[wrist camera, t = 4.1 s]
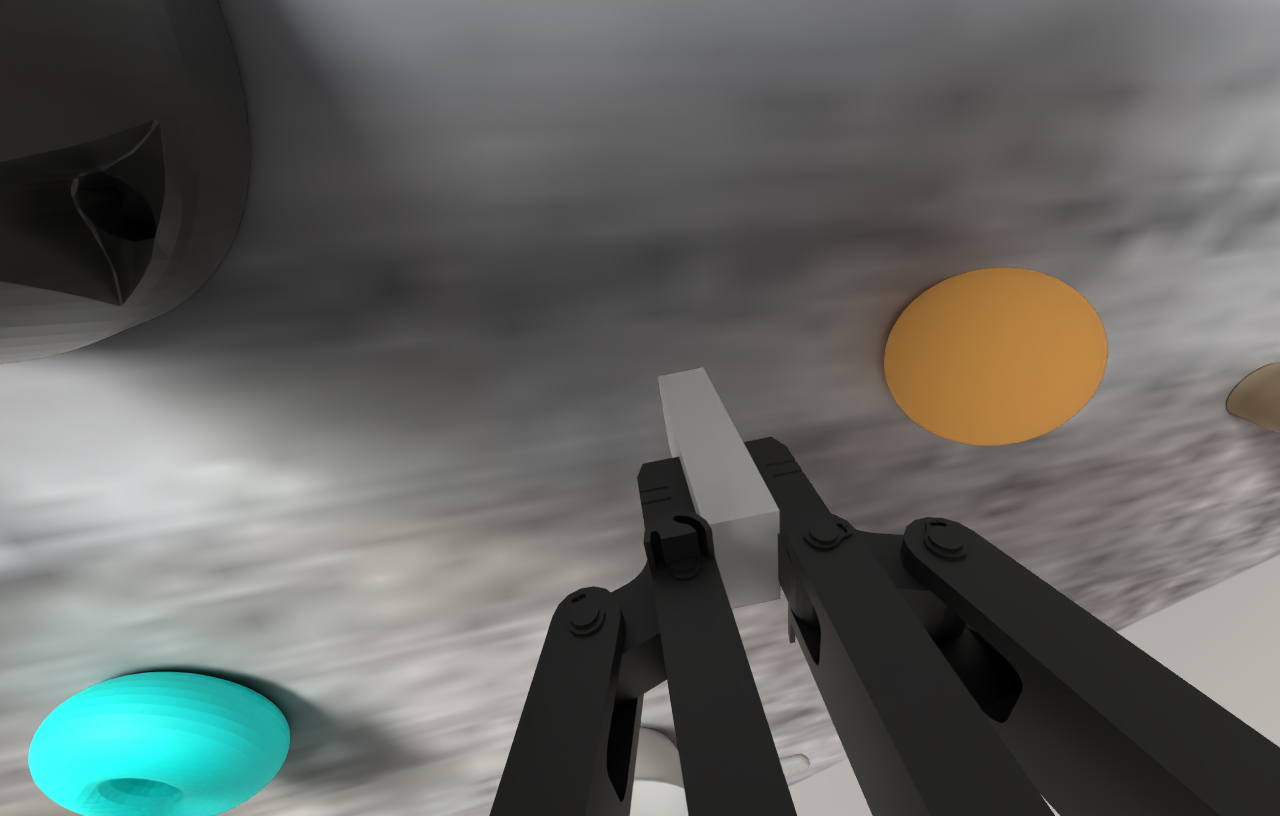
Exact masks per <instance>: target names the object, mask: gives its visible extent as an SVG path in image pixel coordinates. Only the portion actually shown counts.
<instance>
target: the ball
mask: <svg viewBox="0 0 1280 816" xmlns="http://www.w3.org/2000/svg"><path fill="white" fill-rule="evenodd" d="M1107 358H1108V346H1107V337H1106V333H1105V330H1104V327H1103V324H1102V322H1101V319H1100V317H1099V315H1098V314H1097V312H1096V311H1095V309H1094V308H1093V307H1092V305H1091V304H1090V302H1089V301H1087V300H1086V299H1085V298H1084V297H1083V296H1082V295H1081V294H1080V293H1079V292H1078V291H1077V290H1076V289H1074V288H1072V287H1071V286H1069V285H1067V284H1066V283H1064V282H1062V281H1061V280H1059V279H1057V278H1054V277H1052V276H1049V275H1046V274H1043V273H1041V272H1037V271H1032V270H1027V269H1021V268H1009V267H995V268H986V269H979V270H973V271H970V272H966V273H962V274H959V275H956V276H953V277H951V278H948V279H946V280H944V281H942V282H940V283H938V284H936V285H934V286H933V287H931V288H930V289H928V290H926V291H925V292H923V293H922V294H921V295H920V296H918V297H917V298H916V299H915V300H914V301H913V302H912V303H911V304H910V305H909V306H908V307H907V308H906V309H905V310H904V311H903V313H902V314H901V315H900V317H899V318H898V319H897V321H896V323H895V324H894V326H893V328H892V330H891V332H890V335H889V337H888V341H887V344H886V349H885V355H884V369H885V376H886V380H887V384H888V387H889V389H890V392H891V394H892V396H893V398H894V399H895V401H896V402H897V404H898V405H899V406H900V408H901V409H902V410H903V411H904V412H905V413H906V414H907V415H908V416H909V417H910V418H911V419H912V420H913V421H914V422H916V423H917V424H918V425H920V426H921V427H923V428H924V429H926V430H928V431H930V432H932V433H934V434H936V435H938V436H940V437H943V438H946V439H949V440H952V441H956V442H960V443H966V444H971V445H990V446H991V445H1004V444H1012V443H1018V442H1022V441H1026V440H1029V439H1032V438H1035V437H1038V436H1041V435H1043V434H1045V433H1048V432H1050V431H1052V430H1053V429H1055V428H1057V427H1059V426H1060V425H1062V424H1063V423H1065V422H1066V421H1068V420H1069V419H1070V418H1072V417H1073V416H1074V415H1075V414H1077V413H1078V412H1079V411H1080V410H1081V409H1082V408H1083V407H1084V406H1085V405H1086V404H1087V402H1088V401H1089V400H1090V398H1091V397H1092V396H1093V394H1094V393H1095V391H1096V390H1097V388H1098V386H1099V384H1100V382H1101V380H1102V378H1103V375H1104V372H1105V368H1106V363H1107Z"/></svg>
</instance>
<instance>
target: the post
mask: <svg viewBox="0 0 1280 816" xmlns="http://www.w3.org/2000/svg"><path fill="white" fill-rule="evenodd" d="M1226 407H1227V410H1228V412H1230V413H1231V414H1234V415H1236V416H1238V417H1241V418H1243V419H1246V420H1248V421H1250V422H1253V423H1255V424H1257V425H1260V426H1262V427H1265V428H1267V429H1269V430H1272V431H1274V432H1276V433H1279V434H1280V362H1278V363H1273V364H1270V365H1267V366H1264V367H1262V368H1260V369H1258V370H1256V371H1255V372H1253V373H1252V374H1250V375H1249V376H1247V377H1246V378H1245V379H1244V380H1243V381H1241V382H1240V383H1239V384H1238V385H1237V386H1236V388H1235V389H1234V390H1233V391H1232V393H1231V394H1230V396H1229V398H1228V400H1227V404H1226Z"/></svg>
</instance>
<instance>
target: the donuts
mask: <svg viewBox="0 0 1280 816" xmlns="http://www.w3.org/2000/svg"><path fill="white" fill-rule="evenodd" d="M289 746H290V730H289V726H288V723H287V721H286V719H285V717H284V716H283V714H282V712H281V711H280V710H279V709H278V708H277V707H276V706H275V705H274V704H273V703H272V702H271V701H270V700H268V699H267V698H265V697H264V696H262V695H261V694H259V693H257V692H255V691H253V690H251V689H249V688H247V687H245V686H242V685H240V684H237V683H234V682H231V681H227V680H224V679H220V678H216V677H212V676H207V675H201V674H194V673H182V672H147V673H138V674H131V675H126V676H122V677H117V678H114V679H110V680H107V681H103V682H101V683H98V684H95V685H93V686H90V687H88V688H86V689H85V690H83V691H81V692H79V693H77V694H75V695H73V696H72V697H70V698H69V699H67V700H66V701H65V702H63V703H62V704H61V705H59V706H58V707H57V708H56V709H55V710H54V711H53V712H52V713H51V714H50V715H49V716H48V717H47V718H46V719H45V720H44V721H43V723H42V724H41V726H40V727H39V729H38V730H37V732H36V733H35V735H34V738H33V740H32V743H31V746H30V750H29V767H30V771H31V774H32V777H33V779H34V781H35V783H36V784H37V785H38V787H39V788H40V789H41V790H42V791H43V792H44V793H45V794H46V795H47V796H48V797H49V798H50V799H52V800H53V801H54V802H56V803H58V804H59V805H61V806H63V807H65V808H67V809H69V810H72V811H74V812H76V813H79V814H82V815H85V816H214V815H217V814H220V813H222V812H225V811H228V810H230V809H232V808H234V807H236V806H238V805H240V804H241V803H243V802H245V801H247V800H248V799H250V798H251V797H253V796H254V795H255V794H257V793H258V792H259V791H261V790H262V789H263V788H264V787H265V786H266V785H267V784H268V783H269V782H270V781H271V780H272V779H273V778H274V777H275V775H276V774H277V773H278V771H279V770H280V768H281V767H282V765H283V763H284V761H285V759H286V757H287V754H288V750H289Z"/></svg>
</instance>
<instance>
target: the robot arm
mask: <svg viewBox="0 0 1280 816" xmlns="http://www.w3.org/2000/svg"><path fill="white" fill-rule="evenodd" d="M248 176H249V134H248V120H247V114H246V107H245V100H244V94H243V89H242V84H241V80H240V75H239V70H238V66H237V62H236V59H235V55H234V52H233V48H232V45H231V41H230V38H229V34H228V32H227V29H226V26H225V23H224V20H223V17H222V14H221V11H220V8H219V5H218V3H217V0H0V364H9V363H16V362H22V361H29V360H34V359H39V358H43V357H47V356H52V355H56V354H60V353H64V352H68V351H72V350H75V349H78V348H81V347H84V346H87V345H90V344H92V343H95V342H97V341H100V340H102V339H105V338H107V337H110V336H112V335H115V334H117V333H120V332H122V331H124V330H127V329H129V328H132V327H134V326H137V325H139V324H142V323H144V322H147V321H149V320H151V319H153V318H156V317H158V316H160V315H162V314H164V313H166V312H168V311H169V310H171V309H173V308H175V307H177V306H178V305H179V304H181V303H182V302H184V301H185V300H186V299H188V298H189V297H191V296H192V295H193V294H194V293H195V292H196V291H197V290H198V289H199V288H201V287H202V286H203V285H204V284H205V282H206V281H207V280H208V279H209V278H210V277H211V276H212V275H213V273H214V272H215V271H216V269H217V268H218V266H219V265H220V263H221V262H222V261H223V259H224V257H225V255H226V254H227V252H228V250H229V248H230V246H231V244H232V242H233V240H234V237H235V235H236V232H237V230H238V227H239V224H240V220H241V217H242V213H243V210H244V205H245V199H246V194H247V187H248ZM657 377H658V383H659V389H660V395H661V401H662V407H663V413H664V419H665V425H666V431H667V437H668V443H669V447H670V451H671V454H672V458H669V459H664V460H659V461H654V462H649V463H644V464H643V465H642V467H641V469H640V472H639V474H638V477H637V480H638V486H639V492H640V499H641V505H642V512H643V518H644V525H645V534H644V546H645V551H646V555H647V563H646V565H645V567H644V569H643V570H642V572H641V573H640V574H639V575H638V576H637V577H636V578H635V579H634V580H632V581H631V582H629V583H628V584H626V585H625V586H623V587H621V588H619V589H617V590H615V591H613V592H609V591H608V590H607V589H604V588H599V587H588V588H582V589H579V590H577V591H575V592H573V593H571V594H569V595H568V596H567V597H566V598H565V599H564V600H563V601H562V602H561V603H560V604H559V605H558V607H557V609H556V611H555V613H554V615H553V617H552V620H551V623H550V626H549V629H548V633H547V636H546V639H545V642H544V645H543V648H542V652H541V655H540V658H539V661H538V664H537V667H536V670H535V674H534V677H533V680H532V683H531V686H530V689H529V693H528V696H527V699H526V702H525V705H524V708H523V712H522V715H521V718H520V721H519V724H518V727H517V730H516V734H515V737H514V740H513V743H512V746H511V749H510V753H509V756H508V759H507V762H506V765H505V768H504V772H503V775H502V778H501V781H500V784H499V787H498V791H497V794H496V797H495V800H494V803H493V806H492V809H491V813H490V816H630V809H631V801H632V792H633V783H634V775H635V766H636V757H637V749H638V740H639V731H640V723H641V714H642V705H643V697H644V693H646V692H647V691H649V690H650V689H652V688H654V687H655V686H657V685H659V684H660V683H662V682H663V681H665V680H667V681H668V688H669V694H670V701H671V707H672V713H673V720H674V726H675V733H676V739H677V745H678V752H679V758H680V765H681V771H682V778H683V784H684V790H685V797H686V803H687V810H688V816H797V814H796V811H795V807H794V804H793V801H792V798H791V795H790V791H789V788H788V785H787V782H786V779H785V776H784V773H783V769H782V766H781V763H780V760H779V757H778V754H777V751H776V747H775V744H774V741H773V738H772V735H771V732H770V729H769V725H768V722H767V719H766V716H765V713H764V710H763V707H762V703H761V700H760V697H759V694H758V691H757V688H756V685H755V681H754V678H753V675H752V672H751V669H750V666H749V663H748V659H747V656H746V653H745V650H744V647H743V644H742V640H741V637H740V634H739V631H738V628H737V625H736V622H735V618H734V615H733V612H732V608H737V607H742V606H746V605H751V604H756V603H761V602H766V601H771V600H776V599H780V585H781V587H782V589H783V591H784V594H785V596H786V598H787V600H788V634H789V639H790V643H793V642H795V634H796V637H797V639H798V641H799V644H800V646H801V648H802V651H803V653H804V655H805V658H806V660H807V663H808V665H809V667H810V670H811V672H812V674H813V677H814V679H815V681H816V684H817V686H818V688H819V691H820V693H821V695H822V698H823V700H824V702H825V705H826V707H827V710H828V712H829V714H830V717H831V719H832V721H833V724H834V726H835V728H836V731H837V733H838V735H839V738H840V740H841V742H842V745H843V747H844V749H845V752H846V754H847V757H848V759H849V761H850V764H851V766H852V768H853V771H854V773H855V775H856V778H857V780H858V782H859V785H860V787H861V789H862V792H863V794H864V796H865V799H866V801H867V804H868V806H869V808H870V811H871V813H872V815H873V816H1055V815H1054V813H1053V812H1052V811H1051V809H1050V808H1049V806H1048V805H1047V803H1046V802H1045V800H1044V799H1043V797H1044V798H1045V799H1046V801H1047V802H1048V803H1049V804H1050V805H1051V806H1052V807H1053V808H1054V809H1055V810H1056V811H1057V812H1058V814H1060V816H1280V748H1279V747H1278V746H1277V745H1275V744H1274V743H1273V742H1271V741H1270V740H1268V739H1267V738H1266V737H1264V736H1263V735H1261V734H1260V733H1258V732H1257V731H1256V730H1254V729H1253V728H1251V727H1250V726H1248V725H1247V724H1246V723H1244V722H1243V721H1241V720H1240V719H1239V718H1237V717H1236V716H1234V715H1233V714H1232V713H1230V712H1229V711H1227V710H1226V709H1224V708H1223V707H1222V706H1220V705H1219V704H1217V703H1216V702H1215V701H1213V700H1212V699H1210V698H1209V697H1207V696H1206V695H1205V694H1203V693H1202V692H1200V691H1199V690H1197V689H1196V688H1195V687H1193V686H1192V685H1191V684H1189V683H1188V682H1186V681H1185V680H1183V679H1182V678H1181V677H1179V676H1178V675H1176V674H1175V673H1174V672H1172V671H1171V670H1169V669H1168V668H1166V667H1165V666H1163V665H1162V664H1161V663H1159V662H1158V661H1156V660H1155V659H1154V658H1152V657H1151V656H1149V655H1148V654H1147V653H1145V652H1144V651H1142V650H1141V649H1139V648H1138V647H1137V646H1135V645H1134V644H1132V643H1131V642H1130V641H1128V640H1127V639H1125V638H1124V637H1123V636H1121V635H1120V634H1118V633H1117V632H1115V631H1114V630H1113V629H1111V628H1110V627H1108V626H1107V625H1106V624H1104V623H1103V622H1101V621H1100V620H1098V619H1097V618H1096V617H1094V616H1093V615H1091V614H1090V613H1089V612H1087V611H1086V610H1084V609H1083V608H1082V607H1080V606H1079V605H1077V604H1076V603H1074V602H1073V601H1072V600H1070V599H1069V598H1067V597H1066V596H1065V595H1063V594H1062V593H1060V592H1059V591H1057V590H1056V589H1055V588H1053V587H1052V586H1050V585H1049V584H1048V583H1046V582H1045V581H1043V580H1042V579H1040V578H1039V577H1038V576H1036V575H1035V574H1033V573H1032V572H1031V571H1029V570H1028V569H1026V568H1025V567H1023V566H1022V565H1021V564H1019V563H1018V562H1016V561H1015V560H1014V559H1012V558H1011V557H1009V556H1008V555H1006V554H1005V553H1004V552H1002V551H1001V550H999V549H998V548H997V547H995V546H994V545H992V544H991V543H989V542H988V541H987V540H985V539H984V538H982V537H981V536H980V535H978V534H977V533H975V532H974V531H973V530H971V529H969V528H967V527H965V526H963V525H961V524H960V523H958V522H954V521H951V520H947V519H944V518H931V517H926V518H922V519H918V520H915V521H913V522H912V523H911V524H909V525H908V526H907V527H906V530H905V533H904V535H894V534H878V533H869V532H863V531H859V530H856V529H855V528H854V527H853V526H852V525H851V524H850V523H849V522H848V521H846V520H844V519H842V518H840V517H838V516H836V515H833V514H831V513H830V511H829V510H828V508H827V507H826V505H825V504H824V502H823V501H822V499H821V498H820V496H819V495H818V493H817V492H816V490H815V489H814V487H813V486H812V484H811V483H810V481H809V480H808V478H807V477H806V475H805V474H804V472H802V469H801V468H800V466H799V465H798V463H797V462H795V459H794V457H793V456H792V454H791V453H790V451H789V450H788V448H787V447H786V446H785V445H783V444H782V443H780V442H779V441H777V440H775V439H774V438H772V437H768V438H763V439H758V440H753V441H748V442H743V441H742V439H741V437H740V435H739V433H738V431H737V429H736V428H735V426H734V424H733V422H732V420H731V418H730V416H729V414H728V412H727V411H726V409H725V407H724V405H723V403H722V401H721V399H720V397H719V395H718V394H717V392H716V390H715V388H714V386H713V384H712V382H711V380H710V378H709V377H708V375H707V373H706V371H705V369H704V367H702V368H697V369H692V370H687V371H682V372H677V373H672V374H667V375H662V376H657ZM1040 794H1041V795H1042V796H1043V797H1042V796H1041V795H1040Z"/></svg>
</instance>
